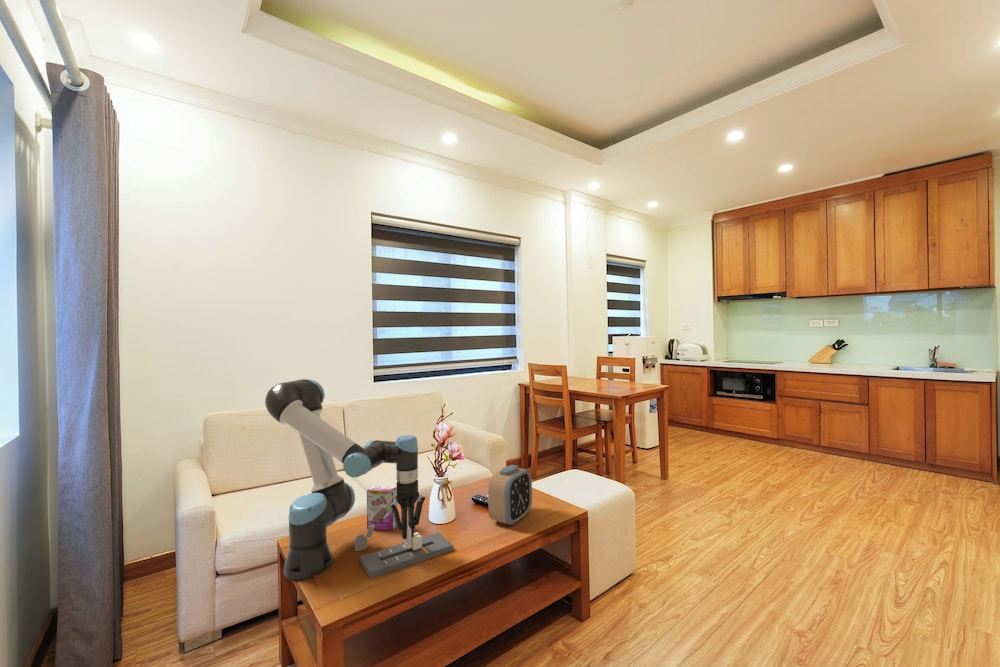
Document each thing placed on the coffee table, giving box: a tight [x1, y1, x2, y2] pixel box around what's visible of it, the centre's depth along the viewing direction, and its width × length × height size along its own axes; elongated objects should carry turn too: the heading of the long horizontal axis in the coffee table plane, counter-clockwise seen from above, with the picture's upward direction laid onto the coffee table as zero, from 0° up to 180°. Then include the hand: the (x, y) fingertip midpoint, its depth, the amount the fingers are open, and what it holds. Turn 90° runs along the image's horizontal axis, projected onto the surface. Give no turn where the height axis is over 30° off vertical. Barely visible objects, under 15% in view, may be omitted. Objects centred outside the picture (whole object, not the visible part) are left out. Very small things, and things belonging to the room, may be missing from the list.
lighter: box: [354, 524, 375, 552], centre depth 156 cm, size 7×2×8 cm, turn 117°
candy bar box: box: [366, 485, 397, 531], centre depth 172 cm, size 11×5×16 cm, turn 84°
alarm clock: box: [487, 464, 533, 526], centre depth 178 cm, size 21×10×22 cm, turn 148°
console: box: [359, 532, 454, 579], centre depth 149 cm, size 30×12×2 cm, turn 124°
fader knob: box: [411, 531, 423, 551], centre depth 151 cm, size 3×4×6 cm
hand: (408, 546), depth 150 cm, fingers closed
